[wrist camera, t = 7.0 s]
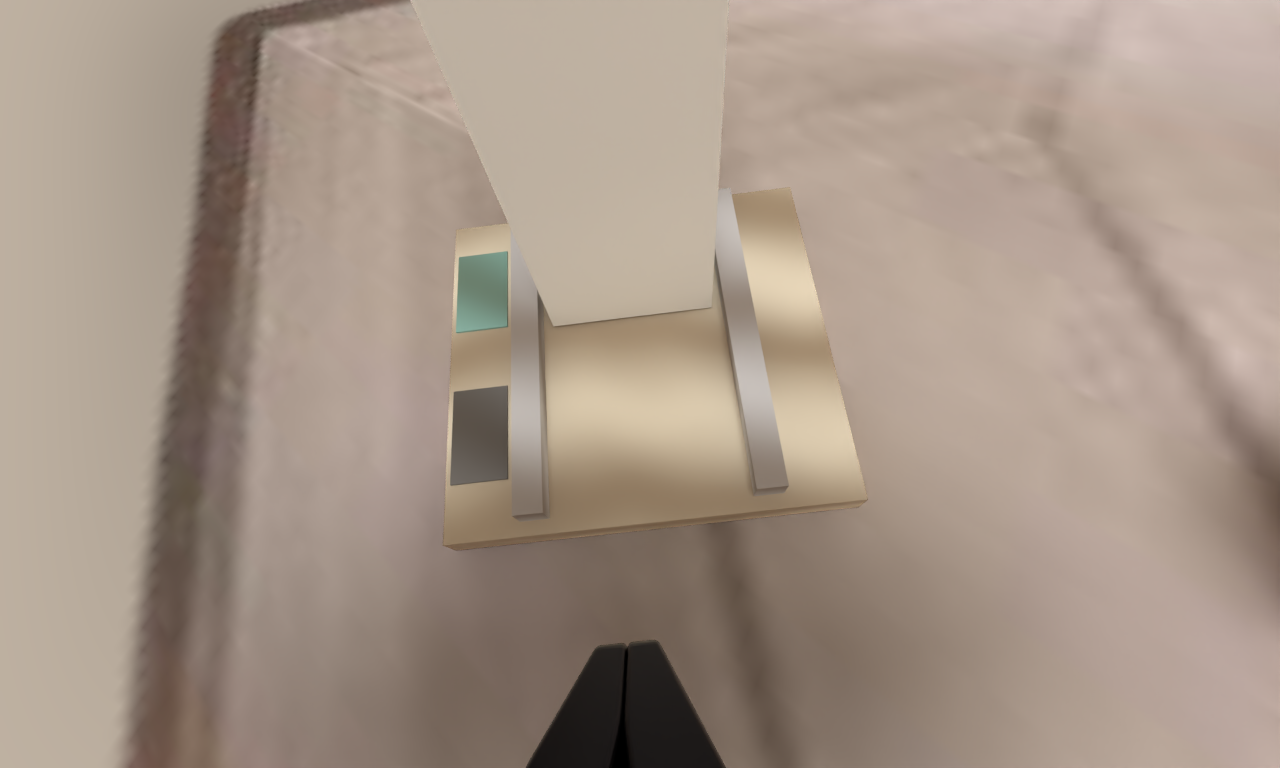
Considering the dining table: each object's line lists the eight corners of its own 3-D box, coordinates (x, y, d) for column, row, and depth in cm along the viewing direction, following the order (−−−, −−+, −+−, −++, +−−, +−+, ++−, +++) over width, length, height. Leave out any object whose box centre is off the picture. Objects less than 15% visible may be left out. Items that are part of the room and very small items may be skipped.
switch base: (858, 507, 20) (886, 484, 17) (456, 550, 21) (417, 535, 18) (785, 206, 26) (797, 150, 23) (466, 246, 26) (437, 197, 23)
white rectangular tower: (717, 311, 22) (758, -227, 8) (548, 331, 22) (321, -160, 9) (701, 217, 24) (714, -353, 10) (545, 237, 24) (353, -294, 10)
